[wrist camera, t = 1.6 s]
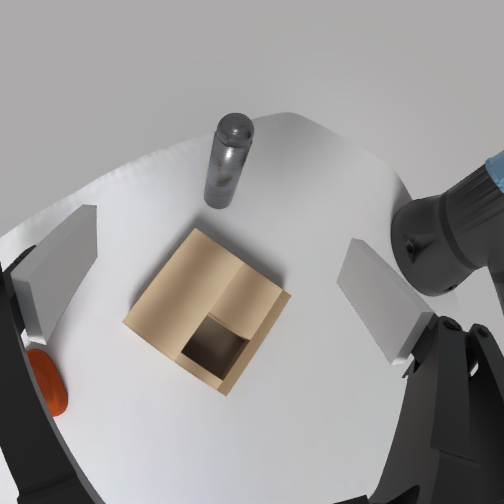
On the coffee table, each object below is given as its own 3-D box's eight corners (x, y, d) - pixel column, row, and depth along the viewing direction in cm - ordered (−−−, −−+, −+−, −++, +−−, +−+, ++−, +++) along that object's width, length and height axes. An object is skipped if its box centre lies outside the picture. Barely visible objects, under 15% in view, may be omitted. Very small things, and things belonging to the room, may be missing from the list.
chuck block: (282, 300, 33) (291, 295, 30) (222, 391, 28) (226, 396, 25) (194, 238, 33) (195, 227, 30) (127, 324, 28) (122, 322, 25)
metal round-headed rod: (237, 194, 36) (266, 118, 23) (221, 214, 34) (244, 140, 22) (215, 179, 36) (234, 99, 23) (198, 198, 34) (209, 119, 22)
